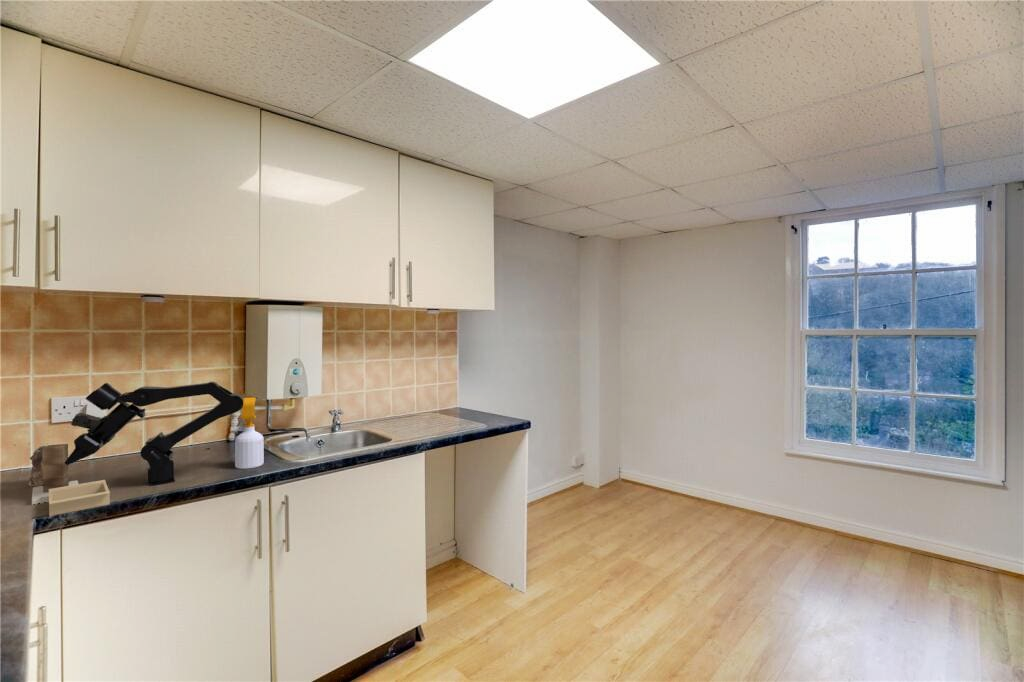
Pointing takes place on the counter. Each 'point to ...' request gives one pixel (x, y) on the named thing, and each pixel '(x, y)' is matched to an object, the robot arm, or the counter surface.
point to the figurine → (37, 468)
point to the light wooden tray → (78, 497)
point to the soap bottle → (249, 440)
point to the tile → (44, 494)
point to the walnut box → (55, 466)
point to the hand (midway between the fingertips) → (71, 460)
